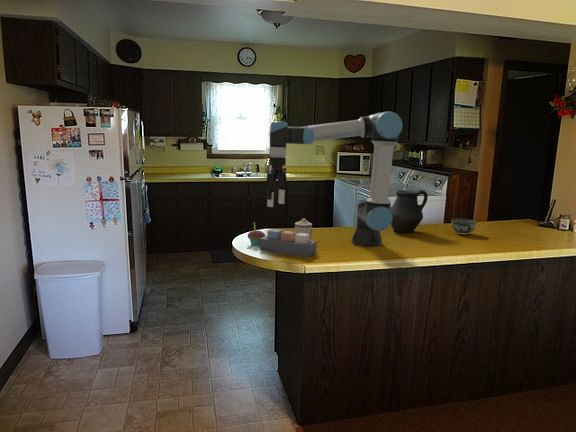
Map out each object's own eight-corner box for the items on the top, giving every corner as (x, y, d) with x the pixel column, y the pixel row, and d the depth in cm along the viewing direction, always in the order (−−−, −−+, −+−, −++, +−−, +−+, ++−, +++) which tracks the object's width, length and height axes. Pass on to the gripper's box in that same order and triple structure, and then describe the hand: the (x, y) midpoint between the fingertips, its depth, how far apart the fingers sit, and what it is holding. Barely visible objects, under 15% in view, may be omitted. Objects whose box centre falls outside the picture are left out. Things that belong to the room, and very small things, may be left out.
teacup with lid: (313, 243, 219) (314, 220, 217) (295, 243, 217) (296, 220, 215) (308, 237, 231) (309, 215, 229) (291, 237, 229) (292, 215, 227)
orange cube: (295, 242, 203) (295, 232, 202) (290, 244, 198) (291, 234, 197) (285, 241, 205) (286, 230, 204) (280, 243, 200) (281, 232, 200)
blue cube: (281, 240, 206) (282, 230, 205) (277, 242, 201) (277, 232, 200) (272, 239, 208) (272, 228, 207) (267, 241, 203) (267, 230, 202)
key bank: (316, 252, 202) (316, 241, 201) (307, 258, 193) (308, 245, 192) (270, 245, 212) (270, 234, 211) (259, 249, 203) (260, 238, 202)
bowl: (453, 230, 264) (455, 217, 262) (477, 234, 256) (478, 220, 255) (447, 234, 253) (448, 220, 251) (471, 237, 245) (473, 223, 244)
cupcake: (258, 248, 206) (258, 223, 204) (243, 245, 210) (244, 220, 208) (268, 244, 213) (269, 220, 211) (254, 241, 218) (254, 218, 215)
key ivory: (309, 244, 200) (309, 234, 199) (305, 247, 195) (305, 236, 195) (299, 243, 202) (299, 232, 201) (294, 245, 198) (295, 234, 197)
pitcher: (384, 226, 267) (387, 185, 262) (421, 228, 264) (425, 187, 260) (387, 233, 247) (390, 189, 242) (426, 236, 244) (431, 192, 240)
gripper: (281, 155, 209) (279, 201, 213) (257, 156, 189) (256, 207, 193) (295, 156, 206) (293, 202, 210) (273, 158, 186) (271, 209, 190)
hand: (275, 205), depth 202 cm, fingers open, 10 cm apart
